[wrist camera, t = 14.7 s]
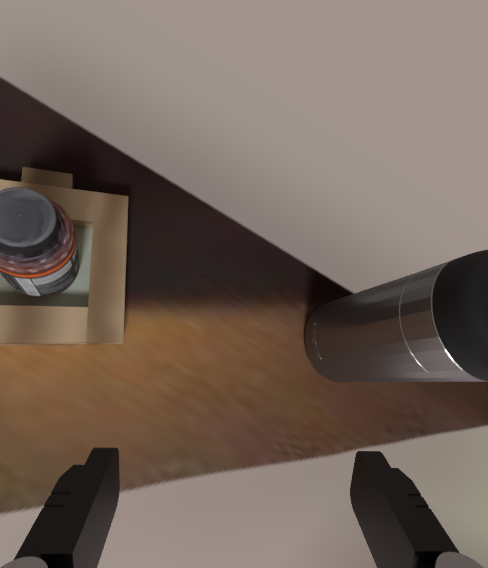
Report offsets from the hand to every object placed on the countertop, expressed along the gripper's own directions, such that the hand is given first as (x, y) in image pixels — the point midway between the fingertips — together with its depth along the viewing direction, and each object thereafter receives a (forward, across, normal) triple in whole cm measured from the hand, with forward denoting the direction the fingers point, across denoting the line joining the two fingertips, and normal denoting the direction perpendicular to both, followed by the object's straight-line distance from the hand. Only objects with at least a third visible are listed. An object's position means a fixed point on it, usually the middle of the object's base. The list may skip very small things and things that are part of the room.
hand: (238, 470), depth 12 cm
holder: (+23, +17, -1) cm, 28 cm away
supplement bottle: (+23, +16, -1) cm, 28 cm away
